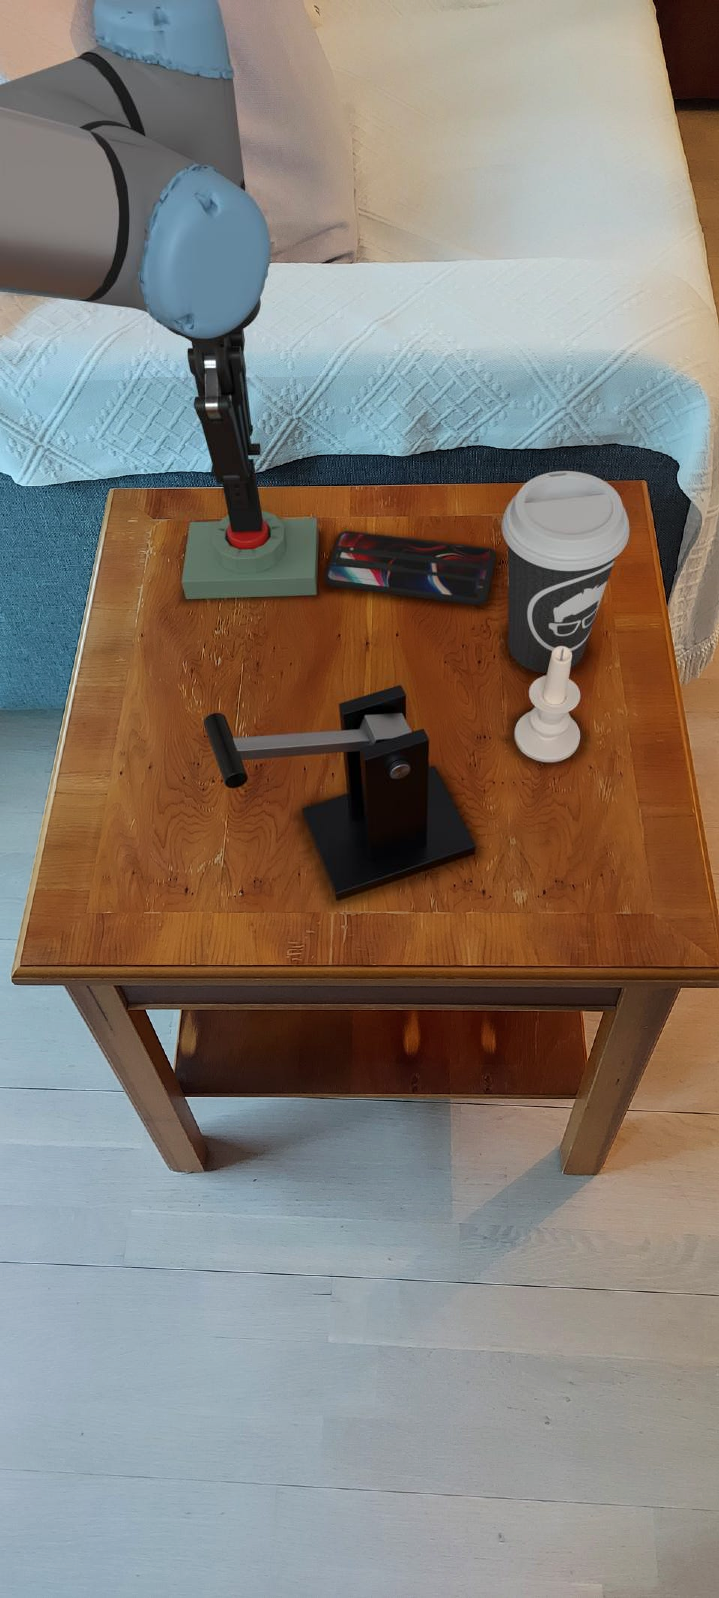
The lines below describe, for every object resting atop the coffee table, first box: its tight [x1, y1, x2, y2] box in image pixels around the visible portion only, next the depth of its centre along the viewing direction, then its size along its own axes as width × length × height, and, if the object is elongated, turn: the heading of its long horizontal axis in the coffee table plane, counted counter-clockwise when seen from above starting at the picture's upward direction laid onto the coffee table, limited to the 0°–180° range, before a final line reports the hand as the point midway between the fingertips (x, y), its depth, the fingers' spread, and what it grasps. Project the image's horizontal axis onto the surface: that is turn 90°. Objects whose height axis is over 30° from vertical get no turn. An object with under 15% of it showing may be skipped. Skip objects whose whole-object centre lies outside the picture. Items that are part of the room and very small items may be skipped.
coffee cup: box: [500, 470, 631, 674], centre depth 80 cm, size 10×10×15 cm
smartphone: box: [324, 530, 497, 606], centre depth 92 cm, size 7×1×15 cm
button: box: [227, 520, 269, 550], centre depth 90 cm, size 4×4×2 cm
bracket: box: [301, 684, 477, 902], centre depth 70 cm, size 11×8×14 cm
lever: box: [203, 712, 412, 789], centre depth 64 cm, size 13×5×2 cm, turn 110°
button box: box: [181, 509, 320, 600], centre depth 92 cm, size 12×8×4 cm, turn 90°
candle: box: [513, 646, 581, 763], centre depth 76 cm, size 5×5×10 cm
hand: (247, 525), depth 89 cm, fingers closed
